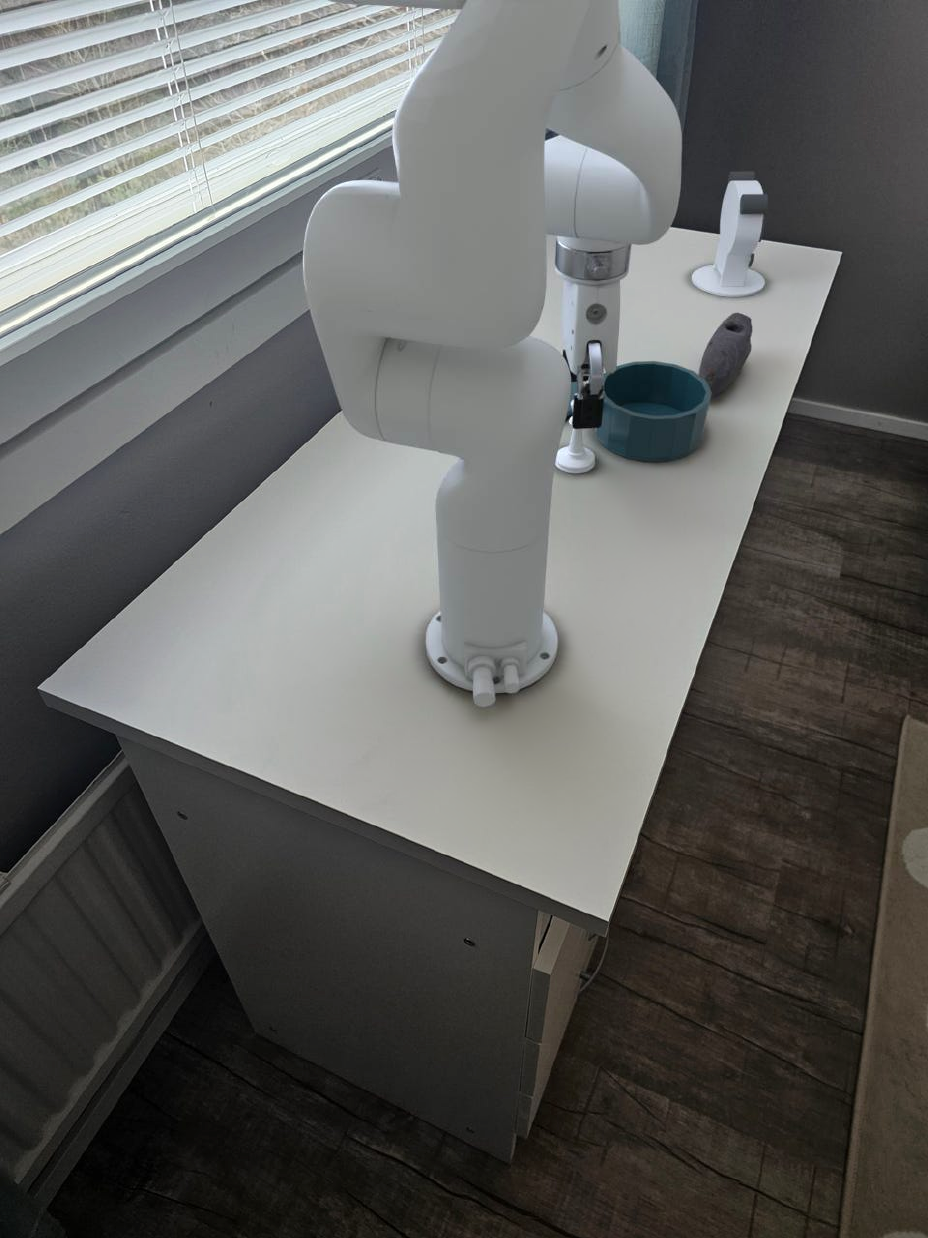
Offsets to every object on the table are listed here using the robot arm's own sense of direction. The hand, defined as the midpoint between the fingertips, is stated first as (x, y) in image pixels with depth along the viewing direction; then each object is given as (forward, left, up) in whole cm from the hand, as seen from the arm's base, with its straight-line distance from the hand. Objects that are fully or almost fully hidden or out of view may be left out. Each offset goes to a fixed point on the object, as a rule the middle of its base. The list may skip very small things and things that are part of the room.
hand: (580, 403), depth 102 cm
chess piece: (0, 0, -8) cm, 8 cm away
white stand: (+48, -31, -8) cm, 57 cm away
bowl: (+6, -10, -8) cm, 14 cm away
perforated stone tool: (+17, -21, -8) cm, 28 cm away
